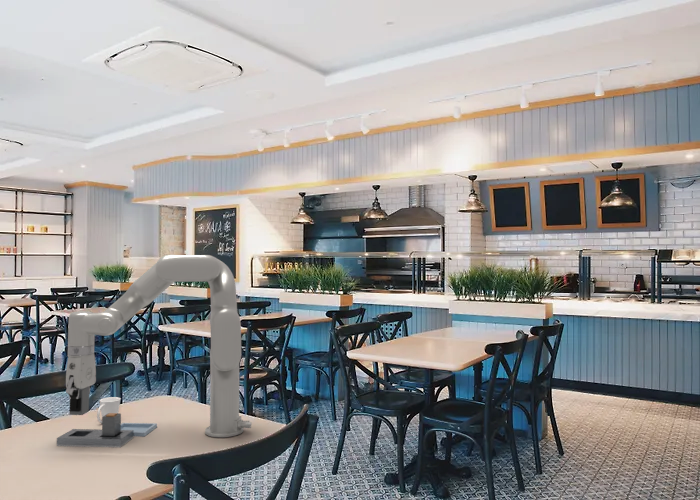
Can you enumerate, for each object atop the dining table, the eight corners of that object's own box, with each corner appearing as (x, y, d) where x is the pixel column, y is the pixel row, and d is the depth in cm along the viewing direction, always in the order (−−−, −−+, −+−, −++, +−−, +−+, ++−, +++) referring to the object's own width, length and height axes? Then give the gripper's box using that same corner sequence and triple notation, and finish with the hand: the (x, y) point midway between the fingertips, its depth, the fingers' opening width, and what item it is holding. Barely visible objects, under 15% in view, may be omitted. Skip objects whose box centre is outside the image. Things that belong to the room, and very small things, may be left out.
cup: (124, 419, 199) (124, 397, 199) (106, 428, 189) (107, 404, 189) (107, 418, 200) (107, 396, 200) (88, 426, 191) (89, 403, 191)
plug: (88, 411, 176) (89, 385, 176) (81, 415, 172) (82, 388, 172) (76, 411, 176) (77, 385, 176) (69, 414, 172) (70, 388, 172)
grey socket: (133, 439, 177) (133, 410, 177) (120, 449, 168) (120, 418, 168) (73, 438, 178) (73, 409, 179) (56, 447, 169) (57, 417, 170)
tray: (156, 428, 189) (157, 423, 189) (144, 438, 179) (144, 432, 179) (122, 428, 189) (122, 422, 189) (108, 437, 179) (108, 431, 179)
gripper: (78, 355, 166) (76, 417, 165) (105, 347, 182) (104, 402, 182) (53, 355, 166) (52, 416, 166) (83, 346, 183) (82, 402, 182)
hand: (79, 408), depth 174 cm, fingers closed on plug, 4 cm apart
